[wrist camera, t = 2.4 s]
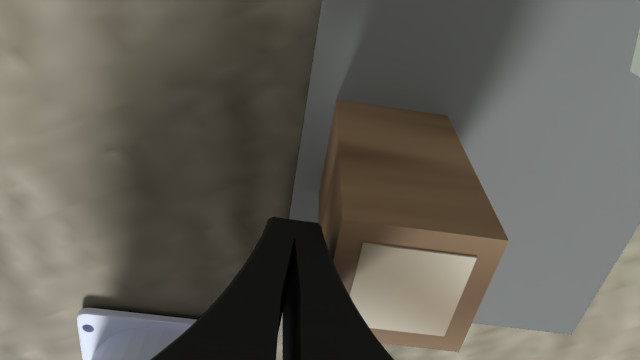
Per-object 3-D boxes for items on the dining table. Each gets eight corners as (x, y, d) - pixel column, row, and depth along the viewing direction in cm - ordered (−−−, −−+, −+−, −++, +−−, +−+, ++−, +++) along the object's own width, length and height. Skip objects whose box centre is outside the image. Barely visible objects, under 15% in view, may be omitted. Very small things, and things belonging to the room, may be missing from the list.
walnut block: (418, 207, 20) (459, 353, 14) (318, 194, 20) (316, 337, 14) (447, 115, 18) (509, 241, 12) (336, 99, 18) (342, 220, 12)
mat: (568, 328, 24) (571, 334, 24) (277, 293, 23) (276, 300, 23) (778, -23, 16) (789, -20, 15) (336, -101, 15) (337, -101, 14)
